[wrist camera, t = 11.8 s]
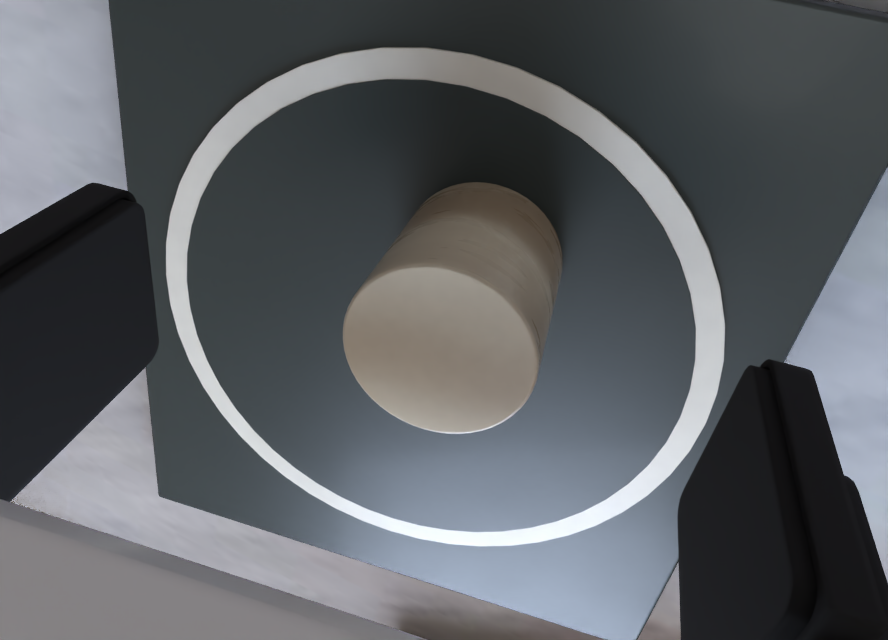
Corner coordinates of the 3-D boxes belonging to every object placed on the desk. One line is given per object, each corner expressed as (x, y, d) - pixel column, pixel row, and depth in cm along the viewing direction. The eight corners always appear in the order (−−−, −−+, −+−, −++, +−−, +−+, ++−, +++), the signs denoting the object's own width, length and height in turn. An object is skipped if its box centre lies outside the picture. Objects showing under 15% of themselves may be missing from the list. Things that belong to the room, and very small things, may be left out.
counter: (416, 163, 15) (348, 241, 12) (581, 204, 15) (560, 296, 11) (396, 304, 17) (334, 404, 14) (541, 343, 16) (514, 457, 13)
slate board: (124, -140, 14) (88, -142, 13) (940, 23, 12) (963, 33, 11) (174, 476, 24) (155, 499, 23) (633, 621, 22) (632, 653, 21)
